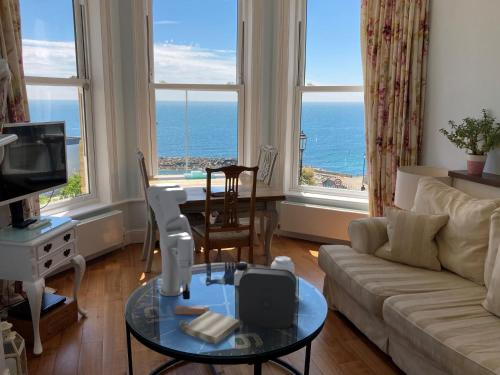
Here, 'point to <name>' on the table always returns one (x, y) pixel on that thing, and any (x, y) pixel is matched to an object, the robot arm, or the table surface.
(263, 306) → the speaker
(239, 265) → the box camera
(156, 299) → the table surface
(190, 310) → the folding leg
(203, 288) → the table surface
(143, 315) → the table surface
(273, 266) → the white ribbed vase
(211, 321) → the stool seat
